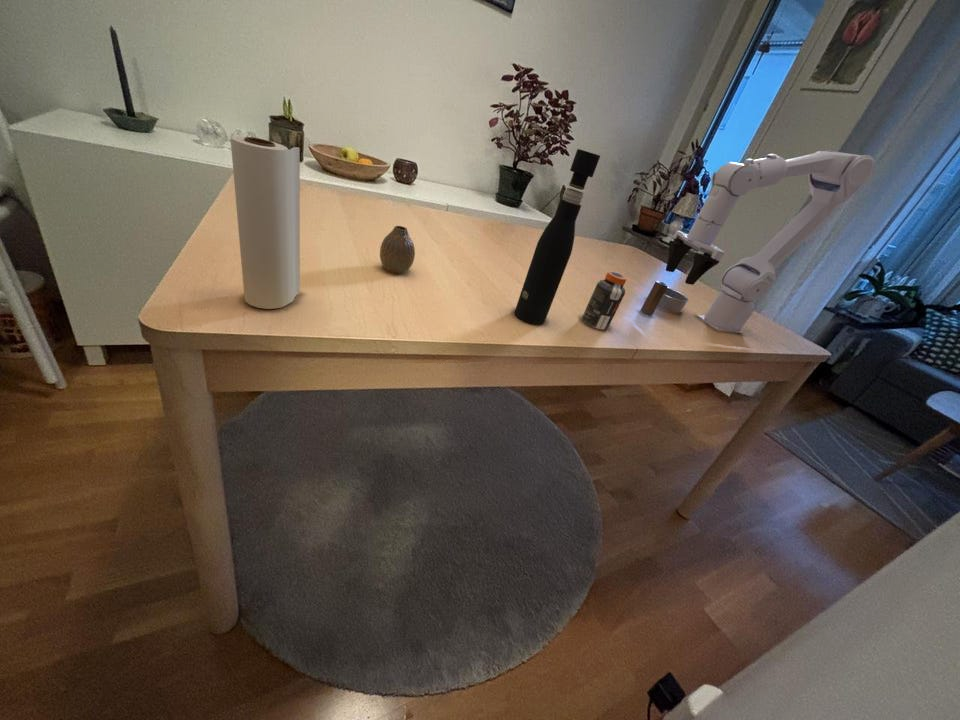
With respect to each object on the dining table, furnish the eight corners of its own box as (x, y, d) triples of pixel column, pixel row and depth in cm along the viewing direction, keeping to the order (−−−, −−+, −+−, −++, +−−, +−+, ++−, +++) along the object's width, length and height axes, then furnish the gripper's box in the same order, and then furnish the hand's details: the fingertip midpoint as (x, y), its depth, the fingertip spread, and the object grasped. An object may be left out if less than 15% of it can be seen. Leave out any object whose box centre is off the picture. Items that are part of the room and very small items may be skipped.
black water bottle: (548, 318, 78) (610, 158, 62) (539, 328, 73) (605, 157, 57) (520, 306, 79) (574, 147, 64) (509, 315, 74) (565, 145, 58)
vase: (418, 273, 80) (425, 232, 76) (396, 279, 75) (402, 235, 70) (394, 261, 83) (399, 220, 78) (370, 265, 77) (375, 222, 73)
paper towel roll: (241, 308, 53) (225, 137, 42) (247, 289, 58) (234, 131, 46) (298, 312, 56) (297, 153, 45) (299, 294, 61) (299, 145, 49)
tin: (666, 300, 111) (673, 288, 109) (687, 316, 103) (695, 302, 101) (640, 296, 108) (647, 283, 106) (660, 311, 100) (668, 298, 98)
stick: (646, 313, 97) (662, 282, 92) (651, 317, 95) (668, 286, 90) (639, 311, 96) (655, 280, 91) (644, 316, 94) (661, 284, 90)
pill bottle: (609, 333, 79) (634, 283, 73) (582, 324, 79) (604, 274, 74) (606, 322, 84) (629, 274, 78) (581, 313, 85) (602, 265, 79)
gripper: (675, 209, 90) (648, 263, 97) (719, 227, 79) (685, 287, 86) (698, 215, 92) (670, 267, 99) (744, 233, 81) (708, 291, 88)
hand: (678, 277), depth 93 cm, fingers open, 7 cm apart
